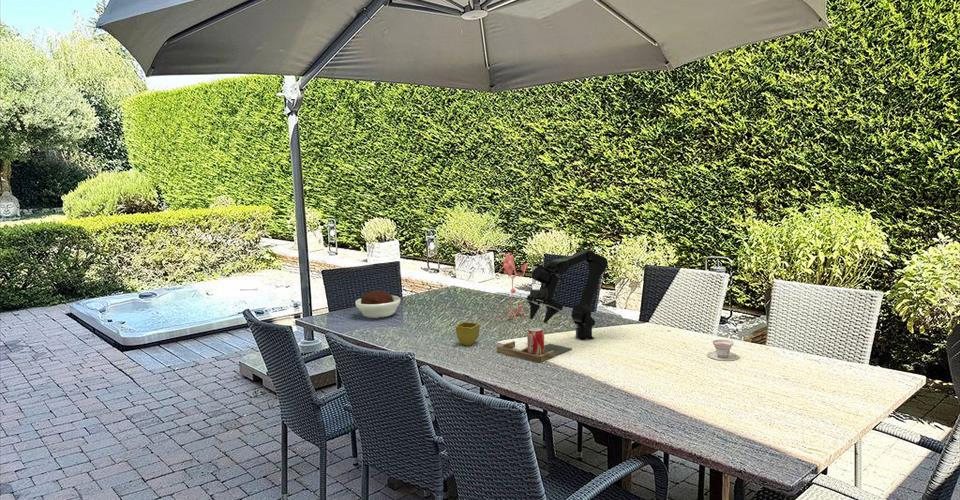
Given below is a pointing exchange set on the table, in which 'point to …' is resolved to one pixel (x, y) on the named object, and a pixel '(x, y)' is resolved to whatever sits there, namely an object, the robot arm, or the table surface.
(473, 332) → the flower pot
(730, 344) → the teacup
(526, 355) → the shelf lanes
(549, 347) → the rubber mat
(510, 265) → the figurine
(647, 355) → the table surface
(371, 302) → the white dessert bowl
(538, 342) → the soda can
